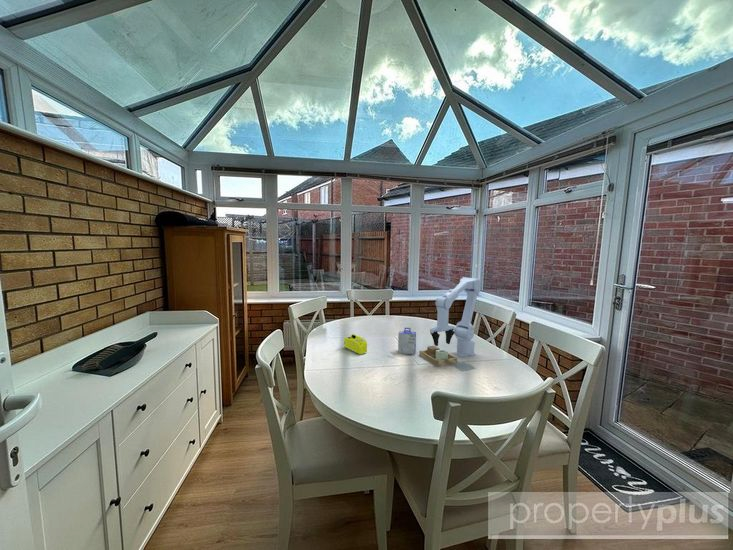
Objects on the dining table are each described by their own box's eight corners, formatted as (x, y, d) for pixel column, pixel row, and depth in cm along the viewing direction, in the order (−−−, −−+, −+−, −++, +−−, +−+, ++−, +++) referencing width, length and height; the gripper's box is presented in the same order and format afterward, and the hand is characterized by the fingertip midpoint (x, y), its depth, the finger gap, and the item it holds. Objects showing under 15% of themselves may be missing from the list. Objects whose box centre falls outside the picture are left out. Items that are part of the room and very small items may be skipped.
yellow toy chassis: (367, 353, 173) (367, 339, 172) (359, 355, 170) (359, 341, 169) (351, 345, 185) (351, 332, 185) (343, 347, 182) (343, 334, 181)
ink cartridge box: (415, 351, 175) (416, 327, 174) (415, 355, 170) (415, 330, 169) (399, 350, 178) (399, 326, 176) (397, 353, 173) (398, 329, 171)
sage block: (442, 358, 163) (442, 349, 163) (447, 361, 159) (447, 351, 159) (435, 360, 162) (435, 350, 161) (440, 363, 158) (441, 353, 157)
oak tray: (437, 352, 174) (437, 347, 174) (456, 363, 159) (457, 358, 158) (419, 356, 169) (419, 350, 169) (437, 367, 154) (437, 361, 153)
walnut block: (433, 353, 171) (434, 345, 170) (439, 357, 166) (439, 348, 165) (427, 355, 169) (427, 346, 168) (432, 358, 164) (432, 349, 164)
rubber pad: (464, 362, 160) (464, 361, 160) (476, 369, 152) (476, 368, 151) (450, 365, 156) (450, 364, 156) (462, 372, 148) (462, 371, 148)
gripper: (449, 316, 164) (448, 340, 166) (426, 319, 159) (426, 343, 160) (457, 319, 158) (456, 344, 160) (434, 322, 152) (434, 348, 154)
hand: (442, 344), depth 160 cm, fingers open, 7 cm apart
